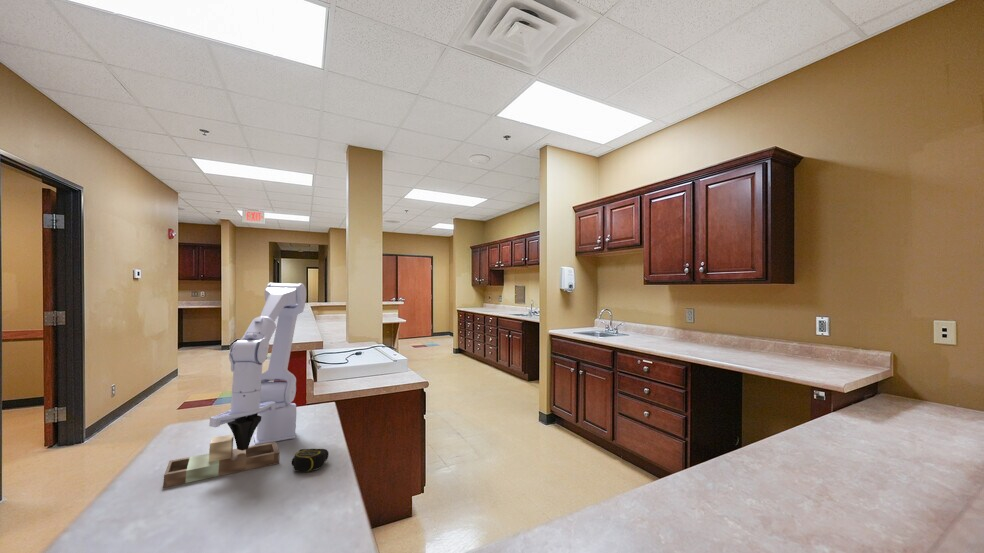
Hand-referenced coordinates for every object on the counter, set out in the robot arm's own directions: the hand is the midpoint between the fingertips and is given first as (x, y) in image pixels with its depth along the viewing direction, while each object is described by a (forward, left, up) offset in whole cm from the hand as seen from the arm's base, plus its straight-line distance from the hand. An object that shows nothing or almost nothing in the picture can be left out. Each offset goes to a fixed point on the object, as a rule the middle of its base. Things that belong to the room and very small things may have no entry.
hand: (242, 449), depth 85 cm
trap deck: (+3, 0, -3) cm, 5 cm away
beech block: (+4, -1, -1) cm, 4 cm away
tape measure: (-13, +10, -4) cm, 16 cm away
